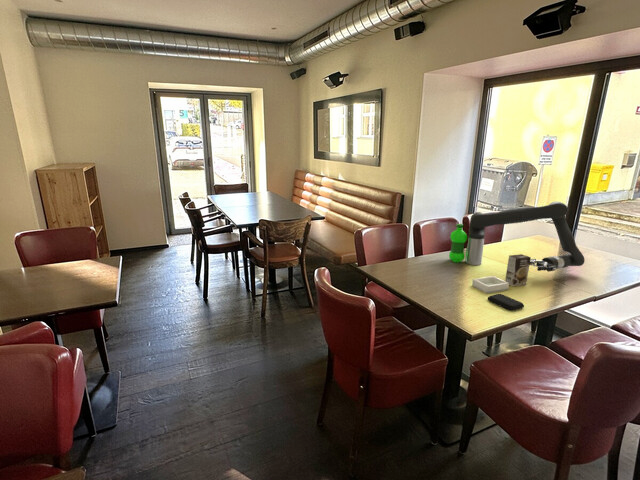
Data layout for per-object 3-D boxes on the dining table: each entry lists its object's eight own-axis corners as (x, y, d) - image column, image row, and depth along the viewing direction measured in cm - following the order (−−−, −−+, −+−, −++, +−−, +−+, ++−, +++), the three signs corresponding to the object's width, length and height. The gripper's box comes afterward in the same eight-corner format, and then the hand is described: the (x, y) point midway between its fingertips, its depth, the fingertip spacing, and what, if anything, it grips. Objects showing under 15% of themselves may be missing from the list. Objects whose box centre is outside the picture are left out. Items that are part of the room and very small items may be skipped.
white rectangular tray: (472, 285, 193) (472, 279, 192) (492, 282, 197) (493, 275, 196) (487, 293, 183) (488, 286, 181) (508, 290, 187) (509, 283, 186)
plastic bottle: (467, 263, 228) (471, 226, 221) (450, 263, 228) (454, 226, 222) (461, 258, 238) (465, 222, 231) (445, 258, 238) (449, 222, 231)
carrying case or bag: (527, 308, 167) (500, 296, 180) (528, 302, 166) (500, 291, 179) (511, 313, 162) (485, 300, 175) (512, 307, 161) (486, 295, 174)
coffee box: (513, 286, 191) (517, 258, 187) (504, 282, 197) (508, 255, 193) (526, 284, 193) (531, 257, 189) (517, 280, 199) (521, 253, 195)
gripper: (542, 253, 206) (521, 256, 201) (565, 260, 193) (543, 264, 188) (540, 265, 208) (519, 268, 203) (563, 273, 195) (541, 277, 190)
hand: (531, 266), depth 196 cm, fingers open, 8 cm apart
